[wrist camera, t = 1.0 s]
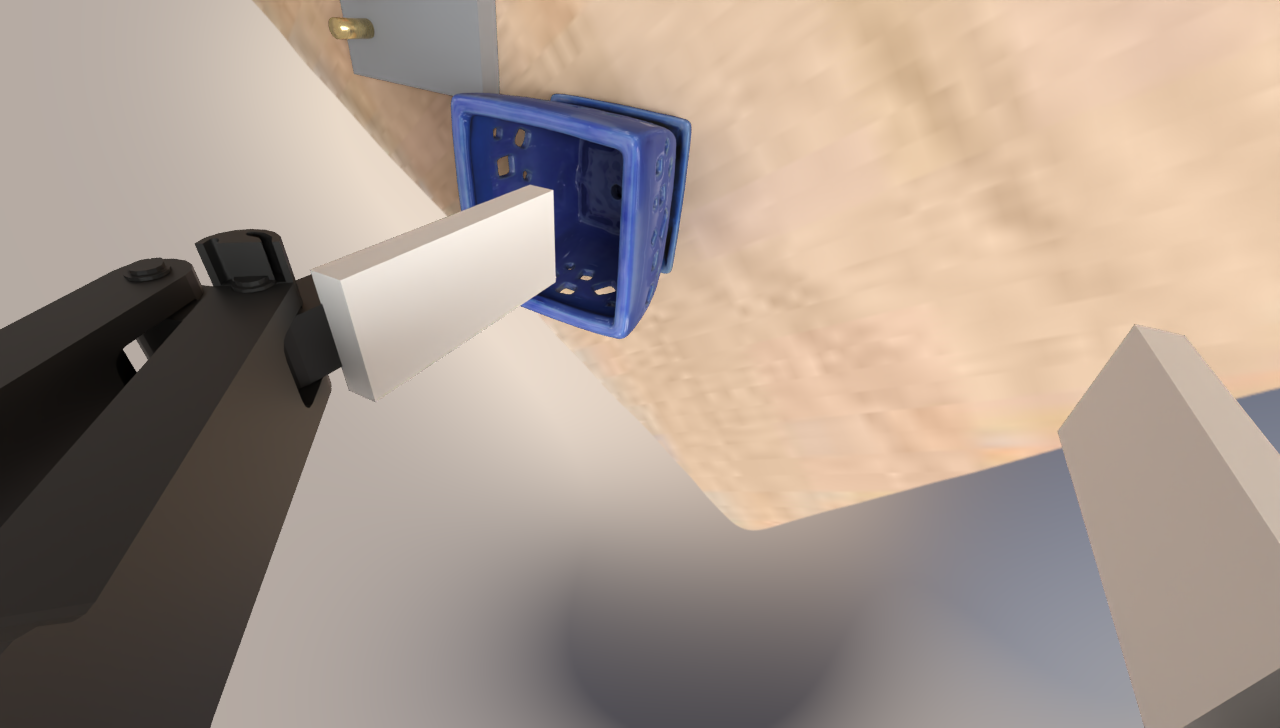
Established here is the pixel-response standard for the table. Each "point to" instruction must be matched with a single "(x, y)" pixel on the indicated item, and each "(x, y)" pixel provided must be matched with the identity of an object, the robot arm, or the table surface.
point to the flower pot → (584, 193)
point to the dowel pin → (351, 28)
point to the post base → (428, 44)
